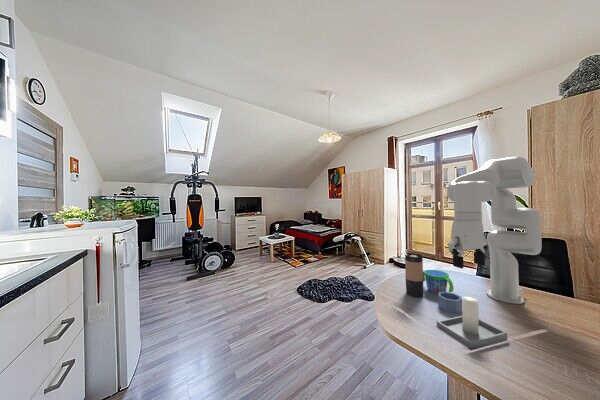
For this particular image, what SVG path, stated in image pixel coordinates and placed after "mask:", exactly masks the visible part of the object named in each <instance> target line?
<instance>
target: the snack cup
mask: <svg viewBox="0 0 600 400" xmlns="http://www.w3.org/2000/svg"><path fill="white" fill-rule="evenodd" d="M423 282H425V283H426V289H427V291H428V292H429V293H431V294H434V295H438V293H439V292H447V289H448V292H449V293H453V291H454V284H453V282H452V280H451V278H450V276H449V274H448V273H447V272H445V271H442V270H437V269H425V270H423ZM448 286H449V288H448Z"/></svg>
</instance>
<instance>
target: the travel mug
mask: <svg viewBox="0 0 600 400" xmlns="http://www.w3.org/2000/svg"><path fill="white" fill-rule="evenodd" d="M404 260H405V263H404V264H405V274H404V275H405V276H404V277H405V292H406V294H407V295H408V296H409V297H413V298H422V297H424V281H423V271H424V263H423V262H424V261H423V255H422V254H418V253H407V254H405V255H404Z"/></svg>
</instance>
